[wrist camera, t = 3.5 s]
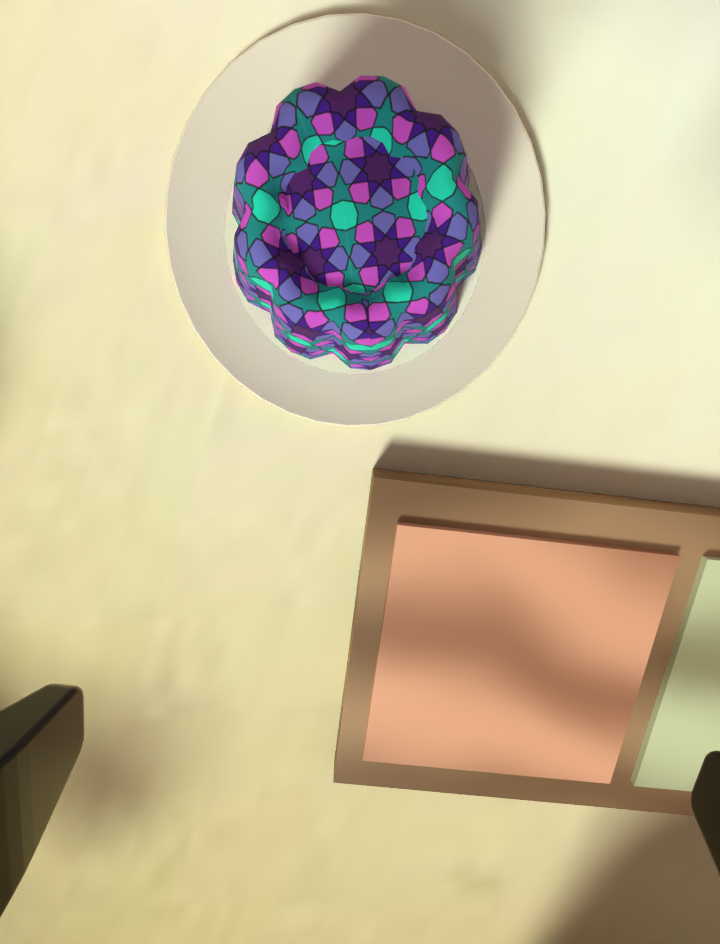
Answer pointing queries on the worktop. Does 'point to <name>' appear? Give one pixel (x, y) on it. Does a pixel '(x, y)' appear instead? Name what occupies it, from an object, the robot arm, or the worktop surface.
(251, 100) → the pudding
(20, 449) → the worktop surface
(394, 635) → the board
